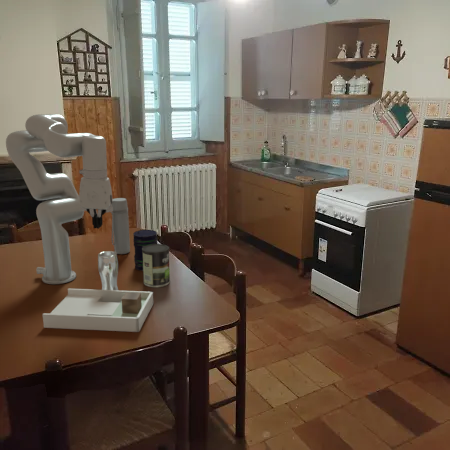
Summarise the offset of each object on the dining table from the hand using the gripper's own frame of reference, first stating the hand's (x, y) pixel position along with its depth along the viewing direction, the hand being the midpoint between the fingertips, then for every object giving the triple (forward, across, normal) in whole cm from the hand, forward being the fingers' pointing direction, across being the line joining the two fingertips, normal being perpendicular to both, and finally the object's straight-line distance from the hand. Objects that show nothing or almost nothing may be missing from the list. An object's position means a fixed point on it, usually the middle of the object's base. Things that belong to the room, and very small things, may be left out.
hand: (97, 227), depth 152 cm
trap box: (+26, +5, -13) cm, 30 cm away
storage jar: (+27, +8, +32) cm, 42 cm away
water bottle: (+28, -8, +47) cm, 55 cm away
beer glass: (+27, +2, +4) cm, 27 cm away
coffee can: (+26, +17, +16) cm, 35 cm away
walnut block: (+23, +16, -13) cm, 31 cm away
